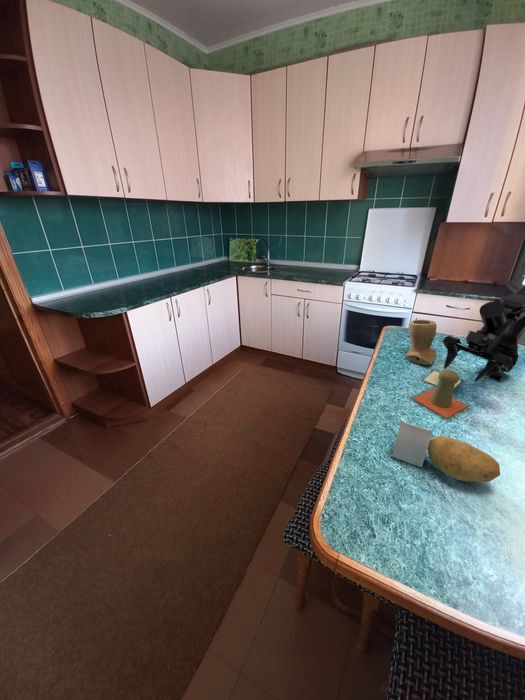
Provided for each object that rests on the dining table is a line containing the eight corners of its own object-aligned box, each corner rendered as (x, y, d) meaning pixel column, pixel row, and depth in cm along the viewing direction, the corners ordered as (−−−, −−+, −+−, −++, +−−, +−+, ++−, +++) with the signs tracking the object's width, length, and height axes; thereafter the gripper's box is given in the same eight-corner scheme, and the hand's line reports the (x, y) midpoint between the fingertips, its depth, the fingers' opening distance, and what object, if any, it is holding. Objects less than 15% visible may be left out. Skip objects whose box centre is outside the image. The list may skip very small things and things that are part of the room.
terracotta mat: (433, 389, 98) (433, 388, 98) (467, 406, 89) (467, 405, 89) (412, 399, 93) (412, 398, 93) (446, 419, 85) (446, 418, 84)
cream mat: (433, 371, 108) (434, 370, 107) (461, 381, 101) (461, 380, 101) (423, 380, 102) (423, 379, 102) (451, 391, 96) (451, 390, 96)
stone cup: (407, 346, 126) (415, 313, 120) (438, 353, 120) (448, 319, 113) (397, 359, 116) (404, 325, 109) (429, 368, 109) (440, 332, 102)
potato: (490, 504, 61) (504, 478, 57) (418, 471, 69) (426, 446, 65) (493, 473, 68) (506, 448, 64) (427, 446, 75) (435, 422, 72)
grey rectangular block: (421, 467, 69) (432, 436, 65) (391, 456, 73) (399, 426, 68) (423, 457, 72) (433, 426, 68) (394, 447, 75) (401, 417, 71)
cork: (456, 406, 89) (467, 376, 84) (438, 409, 88) (448, 378, 83) (441, 395, 94) (451, 365, 89) (425, 397, 93) (433, 368, 88)
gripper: (454, 311, 92) (424, 351, 92) (524, 332, 77) (488, 378, 78) (461, 329, 99) (433, 365, 99) (526, 350, 84) (493, 393, 85)
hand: (459, 374), depth 90 cm, fingers open, 9 cm apart
